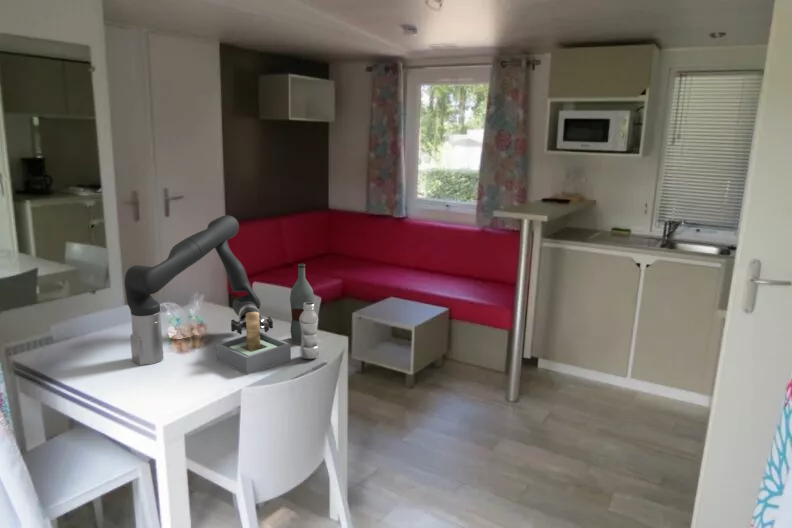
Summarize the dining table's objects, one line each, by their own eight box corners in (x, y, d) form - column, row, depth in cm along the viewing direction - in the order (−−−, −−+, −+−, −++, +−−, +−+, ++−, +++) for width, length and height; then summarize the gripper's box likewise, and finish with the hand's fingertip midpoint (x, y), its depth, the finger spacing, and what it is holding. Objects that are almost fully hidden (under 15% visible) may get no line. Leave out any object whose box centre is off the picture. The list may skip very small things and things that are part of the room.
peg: (252, 360, 195) (250, 316, 192) (244, 357, 198) (243, 313, 194) (263, 357, 198) (261, 313, 195) (255, 354, 201) (254, 311, 198)
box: (247, 374, 186) (246, 357, 185) (217, 360, 197) (216, 344, 196) (290, 360, 199) (290, 344, 198) (260, 347, 211) (259, 332, 209)
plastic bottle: (315, 362, 198) (315, 307, 194) (297, 360, 199) (296, 305, 195) (321, 355, 204) (321, 302, 200) (303, 353, 205) (303, 300, 201)
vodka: (297, 335, 225) (295, 261, 218) (318, 337, 222) (317, 263, 216) (286, 342, 216) (284, 266, 210) (308, 345, 214) (307, 268, 207)
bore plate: (249, 367, 190) (249, 355, 189) (229, 357, 197) (228, 346, 197) (278, 357, 199) (278, 346, 198) (258, 348, 206) (257, 338, 205)
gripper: (229, 308, 206) (231, 321, 191) (269, 305, 211) (274, 318, 196) (230, 328, 208) (232, 342, 193) (269, 324, 212) (274, 339, 197)
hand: (253, 330), depth 194 cm, fingers open, 8 cm apart
